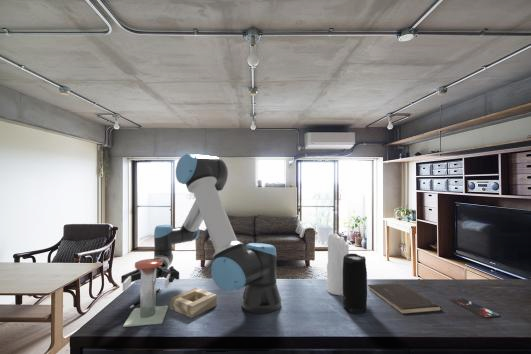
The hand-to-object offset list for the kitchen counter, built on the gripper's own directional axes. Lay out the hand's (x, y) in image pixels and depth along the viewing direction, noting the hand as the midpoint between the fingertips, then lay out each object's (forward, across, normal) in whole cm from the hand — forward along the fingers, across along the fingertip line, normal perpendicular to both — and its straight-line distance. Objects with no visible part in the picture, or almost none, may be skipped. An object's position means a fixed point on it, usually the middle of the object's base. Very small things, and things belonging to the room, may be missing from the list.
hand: (145, 285), depth 91 cm
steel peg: (-3, 0, -11) cm, 12 cm away
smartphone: (+13, -118, -13) cm, 119 cm away
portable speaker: (+6, -74, -12) cm, 75 cm away
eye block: (-8, -16, -12) cm, 21 cm away
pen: (-20, +4, -12) cm, 24 cm away
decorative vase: (-12, -76, -12) cm, 78 cm away
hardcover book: (+1, -97, -13) cm, 98 cm away
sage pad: (-3, 0, -12) cm, 12 cm away
